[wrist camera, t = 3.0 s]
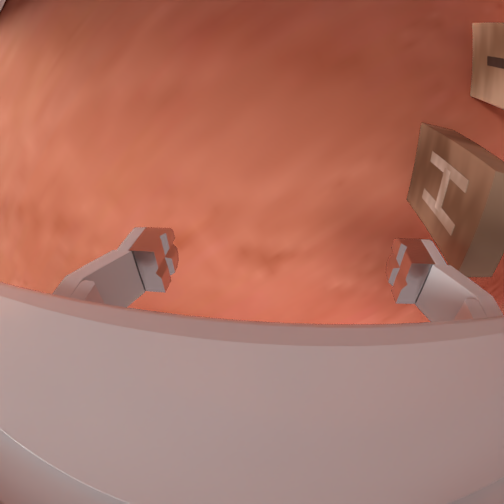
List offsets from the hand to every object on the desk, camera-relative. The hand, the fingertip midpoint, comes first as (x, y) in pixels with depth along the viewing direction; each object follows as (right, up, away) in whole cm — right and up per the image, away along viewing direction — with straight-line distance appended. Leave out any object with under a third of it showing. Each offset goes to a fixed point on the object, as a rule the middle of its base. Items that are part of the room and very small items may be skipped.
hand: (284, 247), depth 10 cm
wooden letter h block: (+12, +6, +6) cm, 15 cm away
